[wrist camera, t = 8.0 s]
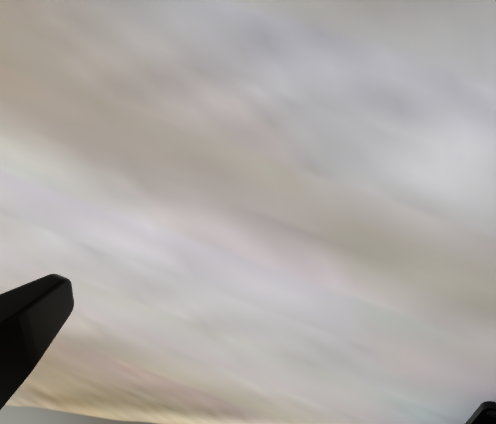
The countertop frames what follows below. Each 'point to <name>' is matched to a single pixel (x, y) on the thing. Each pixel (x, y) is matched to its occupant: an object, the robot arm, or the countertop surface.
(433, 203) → the countertop surface
